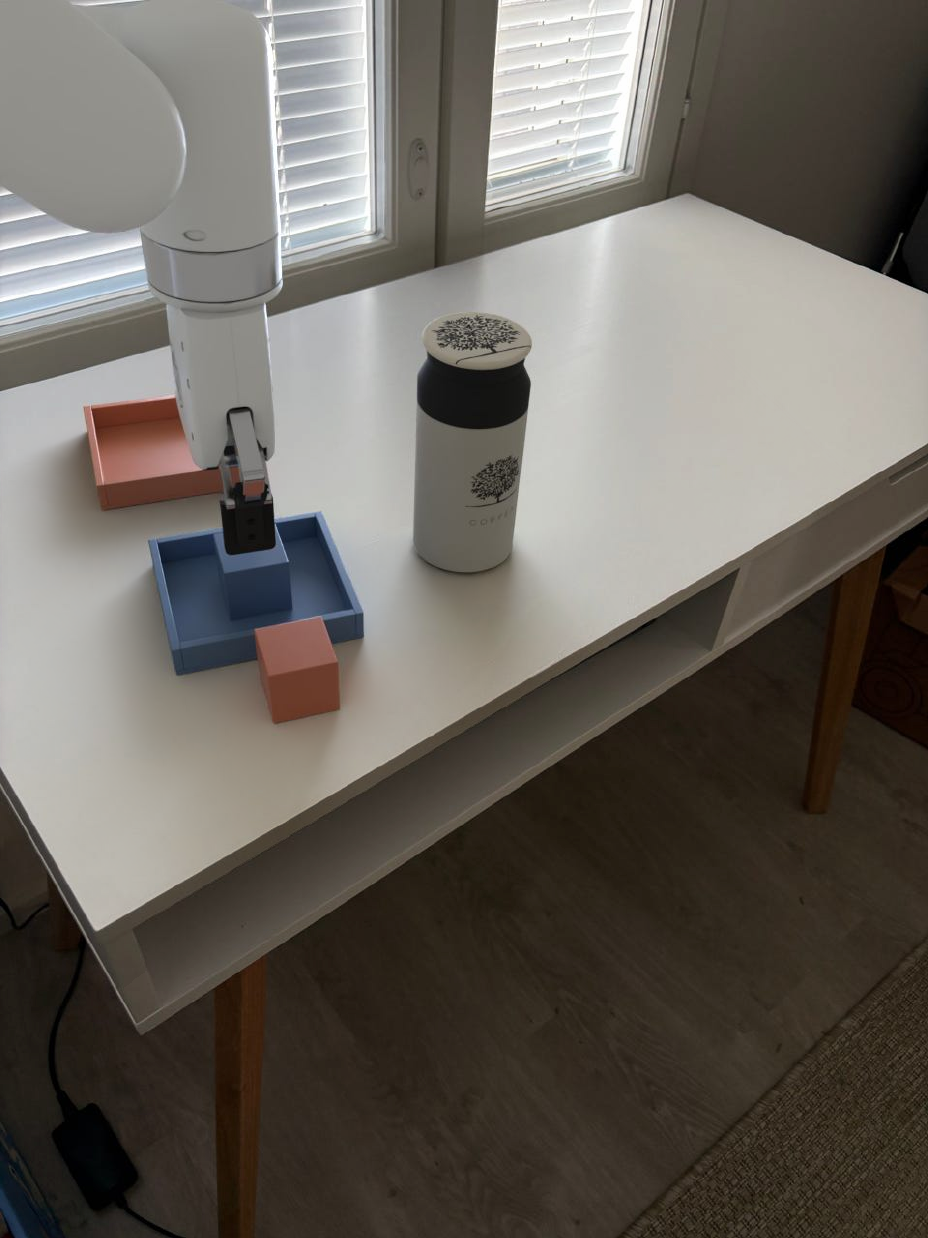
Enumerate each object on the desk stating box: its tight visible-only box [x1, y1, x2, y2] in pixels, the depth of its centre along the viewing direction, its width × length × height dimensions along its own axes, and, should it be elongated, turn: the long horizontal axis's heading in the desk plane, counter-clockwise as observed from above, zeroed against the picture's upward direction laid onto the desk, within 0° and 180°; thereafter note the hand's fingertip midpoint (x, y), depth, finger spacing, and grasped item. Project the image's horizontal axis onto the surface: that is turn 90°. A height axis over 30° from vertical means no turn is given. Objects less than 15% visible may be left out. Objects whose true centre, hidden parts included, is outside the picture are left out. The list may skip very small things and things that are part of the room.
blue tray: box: [147, 510, 365, 676], centre depth 74 cm, size 13×12×2 cm
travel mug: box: [412, 311, 533, 573], centre depth 74 cm, size 8×8×18 cm
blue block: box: [213, 525, 293, 621], centre depth 73 cm, size 4×4×4 cm
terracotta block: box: [254, 617, 341, 724], centre depth 67 cm, size 4×4×4 cm
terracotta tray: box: [83, 394, 240, 511], centre depth 86 cm, size 13×12×2 cm
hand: (236, 505), depth 68 cm, fingers open, 9 cm apart
